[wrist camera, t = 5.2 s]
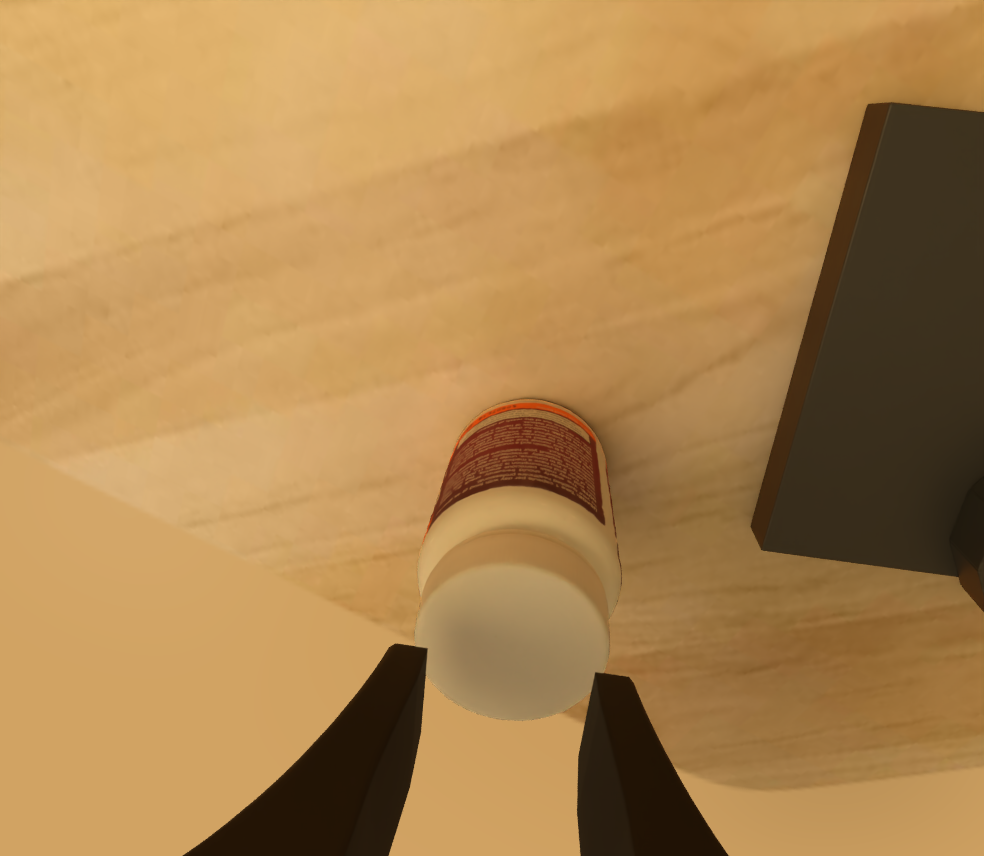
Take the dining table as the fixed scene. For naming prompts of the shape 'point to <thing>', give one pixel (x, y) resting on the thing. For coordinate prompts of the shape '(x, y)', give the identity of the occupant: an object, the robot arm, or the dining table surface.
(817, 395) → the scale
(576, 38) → the dining table surface
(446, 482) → the pill bottle
